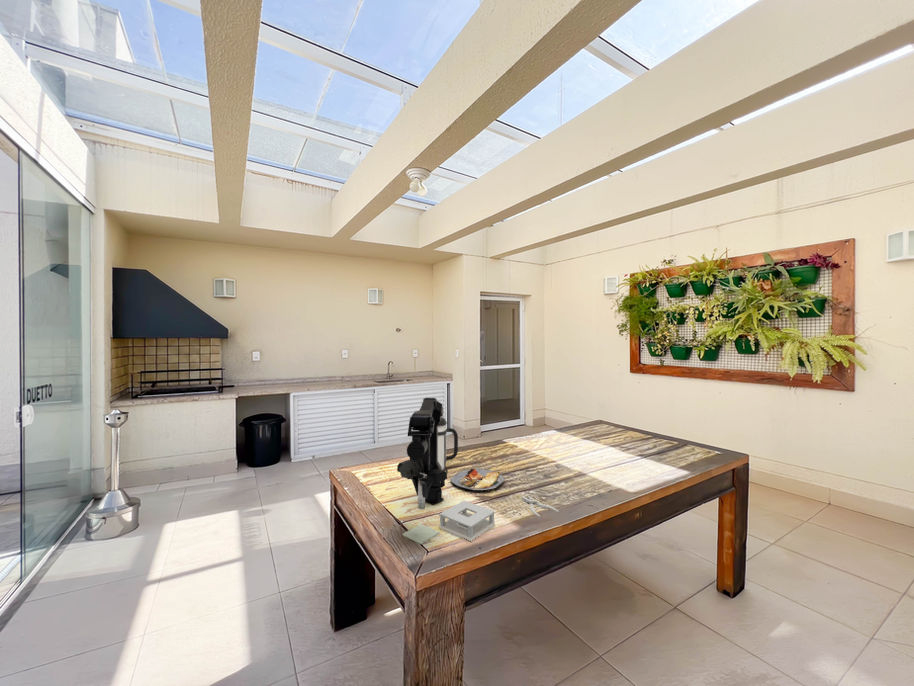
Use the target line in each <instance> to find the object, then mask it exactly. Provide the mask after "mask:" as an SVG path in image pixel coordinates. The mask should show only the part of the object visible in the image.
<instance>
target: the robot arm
mask: <svg viewBox="0 0 914 686" xmlns="http://www.w3.org/2000/svg"><path fill="white" fill-rule="evenodd" d="M442 417H444V406H443V403H442V402H440V401H438V399H437V398H435V397H425V398H423V399H422V403H421V407H420V408H419V410H417V411H414V412H413V413H412V415H411V416H410V417H409V423H408V430H407V437H411V441H410V442H409V444H408V445H407V446H406V447H407V448H406V453H407V454H406V455H407V456H408V458H409V459H407V460H404V461H401V462H399V463H398V464H397V467H396V471H397V473H398V472H399V473H400V476H401V478H404V479H407V480H411V481H412V484H413V486H414V490H415V492H416V496H418V478H420V477H423V478H422V479H420V482H421V483H422V494H423V498H425V503H428V504H430V505H432V506H433V505H436V504H438V503H440V502H442V501H444V500H445V498H443V489H442V488H443V487H445V486H446V483H445V482H446V480H447V479H448V472H446V470H445V469H443V470H442V468H441V465H440V464H439V462H438V424H439V423H440V421H441V419H442Z"/></svg>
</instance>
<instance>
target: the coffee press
mask: <svg viewBox="0 0 914 686" xmlns="http://www.w3.org/2000/svg"><path fill="white" fill-rule="evenodd" d="M447 424H448V422H447V420H446V419H445V417H444V416H442V419H441V421H440V423H439V424H438V462H439V464H440V465H441V468H442V470H445V471H446V472H447V473H448V471H449V470H448V468H447V461H451V460H453V459H455V458H456V457H457V456H458V453H459V452H458V451H459V437H458V432H457V431H456V429H454V428H451V427H448V428H447ZM447 433H452V434H453V454H451V455H448V456H447Z"/></svg>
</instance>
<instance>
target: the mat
mask: <svg viewBox="0 0 914 686" xmlns="http://www.w3.org/2000/svg"><path fill="white" fill-rule="evenodd" d="M440 533H441V532H440V531H438V530H436V529H434V528H432V527H429V526H427V525H424V524H423V523H420V524H418V525H416V526H415V527H412V528H410V529H408V530H407V531H405V532H403V533H402V534H401V535H402V536H403V537H405V538H406V539H410V540H411V541H413V542H415V543H417V544H419V545H423V544H424V543H426V542H428V541H430V540H431V539H432V538H435V537H436V536H437V535H439V534H440Z"/></svg>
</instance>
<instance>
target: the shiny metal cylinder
mask: <svg viewBox="0 0 914 686" xmlns="http://www.w3.org/2000/svg"><path fill="white" fill-rule="evenodd" d="M422 478H423V477H420V478H418V495H417V508H418V510H425V509H426V502H425V498H423V494H422V483H421V482H420V479H422Z"/></svg>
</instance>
